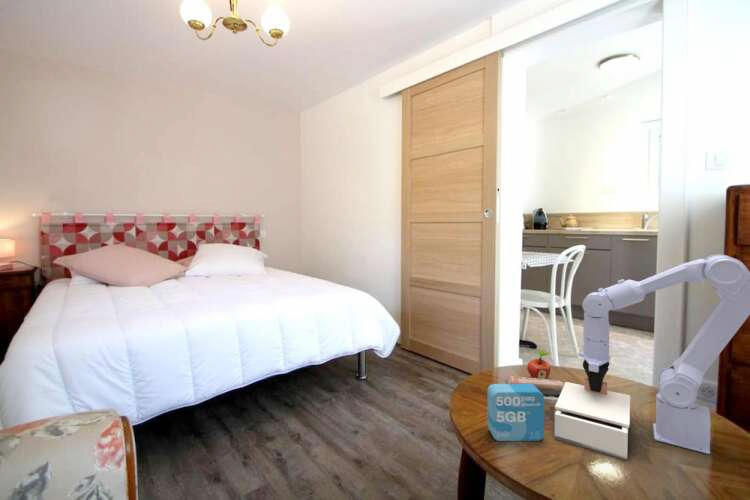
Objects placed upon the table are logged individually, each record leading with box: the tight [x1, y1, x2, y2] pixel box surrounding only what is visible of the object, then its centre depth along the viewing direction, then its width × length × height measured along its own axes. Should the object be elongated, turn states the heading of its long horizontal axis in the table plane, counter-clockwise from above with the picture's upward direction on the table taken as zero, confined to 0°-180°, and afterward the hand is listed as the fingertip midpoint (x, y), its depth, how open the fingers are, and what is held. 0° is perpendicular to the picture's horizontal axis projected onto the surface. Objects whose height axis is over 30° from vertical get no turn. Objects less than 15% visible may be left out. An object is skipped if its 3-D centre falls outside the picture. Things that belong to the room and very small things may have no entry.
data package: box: [486, 383, 545, 442], centre depth 84 cm, size 12×4×12 cm, turn 88°
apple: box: [526, 349, 551, 379], centre depth 114 cm, size 8×7×10 cm
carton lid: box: [554, 377, 631, 429], centre depth 87 cm, size 15×17×3 cm
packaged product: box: [504, 375, 565, 405], centre depth 105 cm, size 18×5×10 cm
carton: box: [554, 409, 629, 461], centre depth 85 cm, size 14×16×6 cm
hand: (595, 389), depth 91 cm, fingers closed on carton lid
